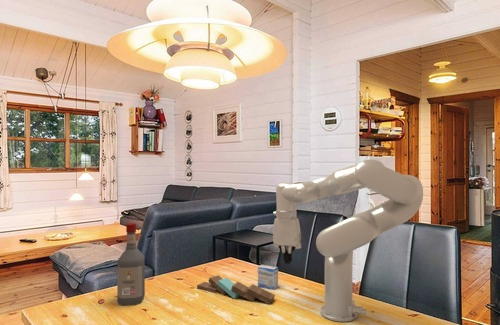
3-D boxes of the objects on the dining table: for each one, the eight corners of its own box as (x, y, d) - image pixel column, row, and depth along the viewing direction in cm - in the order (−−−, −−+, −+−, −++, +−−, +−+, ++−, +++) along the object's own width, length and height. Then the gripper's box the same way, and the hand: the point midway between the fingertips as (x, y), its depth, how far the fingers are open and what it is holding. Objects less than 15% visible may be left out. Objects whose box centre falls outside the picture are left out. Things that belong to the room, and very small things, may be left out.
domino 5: (275, 294, 134) (252, 283, 138) (271, 299, 130) (247, 288, 133) (273, 299, 134) (250, 288, 138) (269, 304, 130) (246, 292, 133)
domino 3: (243, 290, 138) (226, 277, 144) (235, 294, 135) (218, 280, 140) (242, 295, 139) (225, 281, 145) (234, 298, 135) (217, 284, 141)
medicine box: (257, 286, 148) (257, 266, 148) (262, 283, 152) (261, 264, 152) (274, 290, 145) (274, 269, 145) (278, 286, 148) (278, 266, 148)
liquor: (141, 305, 129) (141, 225, 129) (116, 306, 128) (115, 226, 128) (145, 295, 139) (145, 221, 139) (122, 296, 137) (121, 222, 137)
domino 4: (259, 292, 137) (237, 281, 140) (254, 297, 132) (232, 285, 136) (257, 297, 137) (236, 285, 140) (253, 301, 132) (230, 290, 136)
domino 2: (233, 287, 142) (218, 275, 149) (224, 290, 139) (209, 277, 145) (232, 291, 143) (217, 279, 149) (223, 294, 139) (208, 281, 146)
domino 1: (222, 286, 145) (204, 281, 151) (215, 289, 141) (197, 285, 146) (222, 290, 145) (204, 286, 151) (215, 294, 141) (197, 289, 146)
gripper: (264, 215, 132) (266, 263, 131) (302, 217, 125) (304, 267, 125) (271, 213, 138) (273, 258, 138) (308, 214, 132) (309, 262, 132)
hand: (287, 262), depth 132 cm, fingers closed
